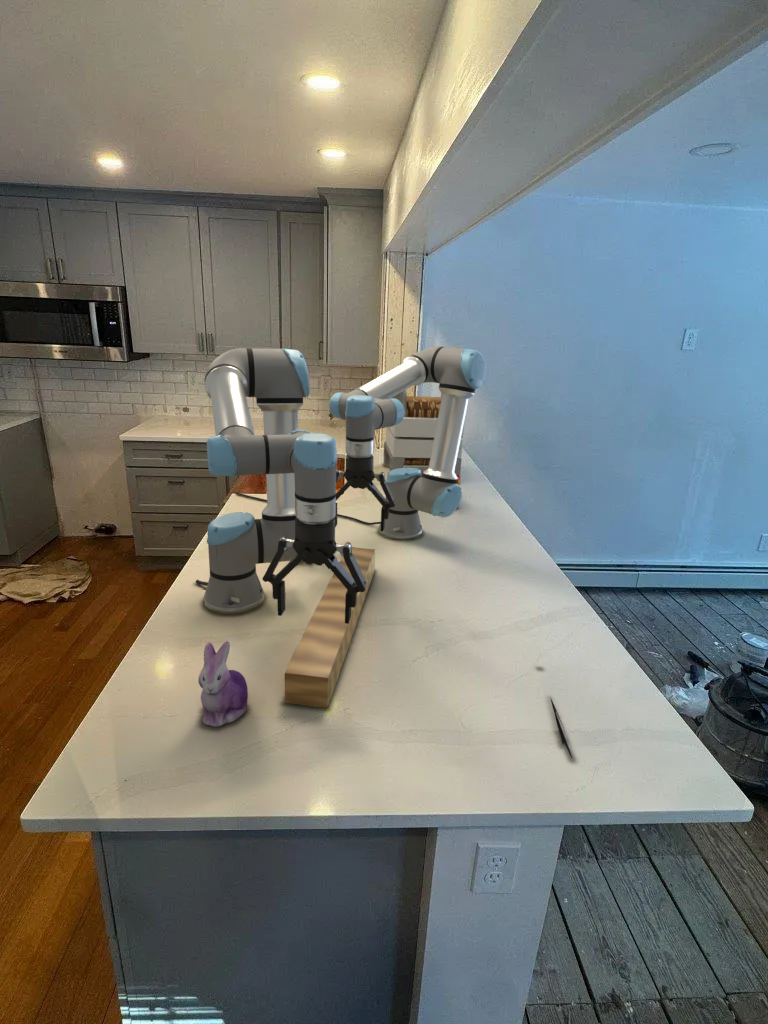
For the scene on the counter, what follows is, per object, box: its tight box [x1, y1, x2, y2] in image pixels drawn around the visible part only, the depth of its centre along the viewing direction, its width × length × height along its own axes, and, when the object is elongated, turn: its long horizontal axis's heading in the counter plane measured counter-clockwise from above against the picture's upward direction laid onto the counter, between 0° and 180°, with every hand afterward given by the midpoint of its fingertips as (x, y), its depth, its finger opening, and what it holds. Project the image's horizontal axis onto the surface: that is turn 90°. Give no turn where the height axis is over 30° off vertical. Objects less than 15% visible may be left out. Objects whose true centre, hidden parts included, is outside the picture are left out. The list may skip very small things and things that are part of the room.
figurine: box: [198, 640, 249, 728], centre depth 107 cm, size 9×10×15 cm
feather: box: [539, 666, 573, 758], centre depth 114 cm, size 2×28×2 cm
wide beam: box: [283, 546, 376, 709], centre depth 141 cm, size 64×9×7 cm, turn 173°
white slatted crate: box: [383, 389, 466, 476], centre depth 268 cm, size 34×33×41 cm
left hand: (314, 616), depth 113 cm, fingers open, 13 cm apart
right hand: (358, 527), depth 160 cm, fingers open, 13 cm apart
